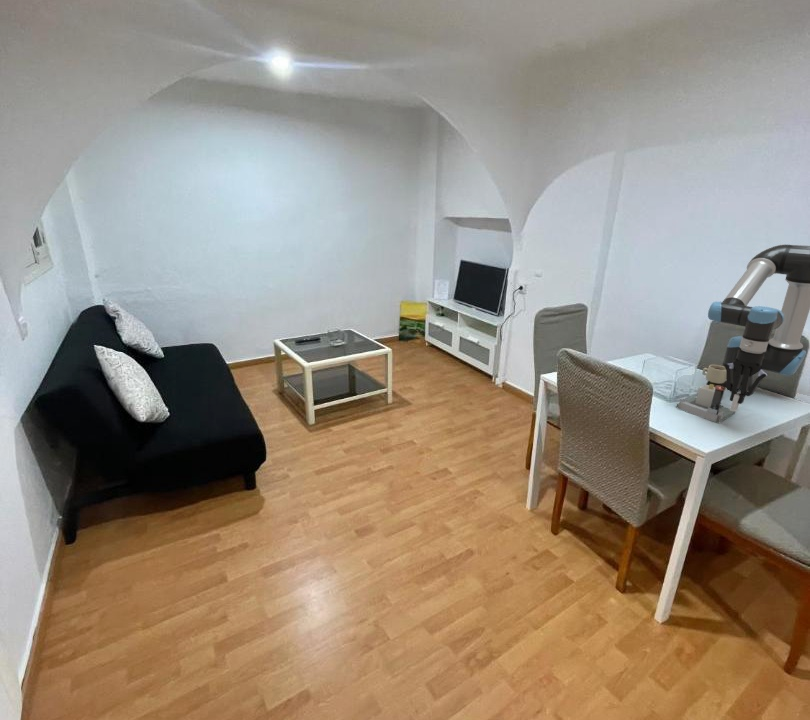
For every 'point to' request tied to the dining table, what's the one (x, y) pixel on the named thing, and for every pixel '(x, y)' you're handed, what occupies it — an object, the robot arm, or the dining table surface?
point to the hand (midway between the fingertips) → (733, 410)
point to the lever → (716, 400)
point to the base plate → (703, 410)
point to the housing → (705, 395)
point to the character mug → (715, 374)
